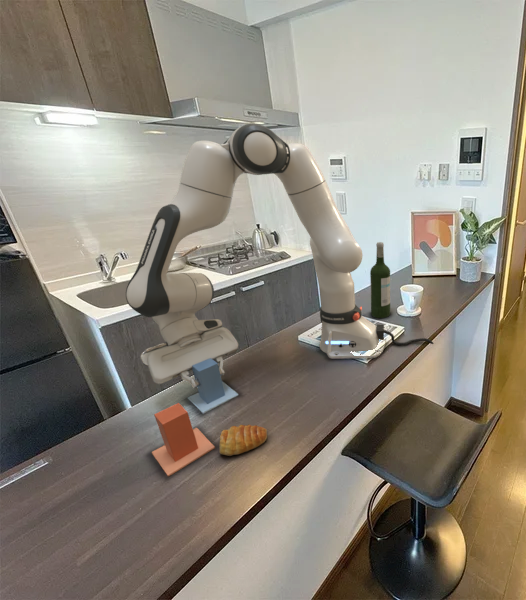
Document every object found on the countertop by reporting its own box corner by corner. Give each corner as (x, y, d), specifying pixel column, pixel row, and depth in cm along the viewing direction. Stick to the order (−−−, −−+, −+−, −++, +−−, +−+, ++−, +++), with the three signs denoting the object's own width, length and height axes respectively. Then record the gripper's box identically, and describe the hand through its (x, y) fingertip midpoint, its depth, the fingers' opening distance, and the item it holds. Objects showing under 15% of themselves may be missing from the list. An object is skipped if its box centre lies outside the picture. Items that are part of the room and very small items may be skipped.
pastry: (267, 427, 77) (265, 414, 75) (267, 449, 71) (264, 436, 69) (223, 437, 74) (220, 424, 72) (219, 461, 68) (215, 447, 66)
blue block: (199, 396, 86) (190, 364, 82) (217, 388, 89) (209, 357, 85) (207, 404, 83) (198, 371, 79) (225, 395, 86) (217, 363, 82)
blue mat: (187, 398, 85) (187, 397, 85) (222, 382, 92) (222, 381, 92) (203, 414, 80) (202, 412, 80) (238, 395, 87) (238, 394, 87)
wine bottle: (376, 309, 140) (375, 239, 128) (393, 312, 137) (393, 241, 125) (367, 316, 133) (365, 243, 122) (384, 319, 130) (384, 246, 118)
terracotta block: (166, 450, 69) (153, 414, 66) (189, 438, 73) (178, 402, 69) (175, 462, 67) (162, 424, 63) (198, 448, 70) (187, 411, 66)
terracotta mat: (151, 453, 69) (151, 452, 69) (197, 428, 76) (196, 427, 76) (168, 476, 64) (167, 475, 64) (215, 448, 71) (214, 446, 71)
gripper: (137, 346, 76) (164, 398, 74) (225, 317, 91) (250, 359, 89) (136, 356, 80) (162, 405, 78) (221, 327, 95) (244, 367, 93)
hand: (209, 380), depth 84 cm, fingers open, 5 cm apart
